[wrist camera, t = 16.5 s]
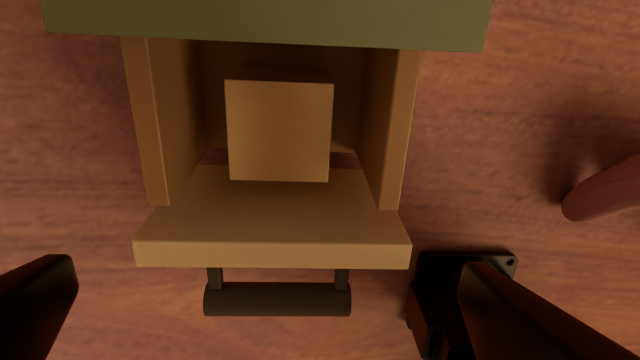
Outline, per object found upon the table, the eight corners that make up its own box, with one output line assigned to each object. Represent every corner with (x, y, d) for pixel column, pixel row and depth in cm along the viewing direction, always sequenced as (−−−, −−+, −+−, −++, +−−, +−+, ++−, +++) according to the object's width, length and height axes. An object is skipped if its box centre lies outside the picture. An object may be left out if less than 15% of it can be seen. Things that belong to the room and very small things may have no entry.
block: (327, 67, 17) (334, 83, 13) (323, 149, 19) (328, 182, 15) (240, 64, 17) (223, 79, 13) (243, 146, 19) (229, 180, 15)
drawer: (366, 257, 23) (392, 357, 16) (197, 255, 22) (153, 358, 16) (407, -74, 16) (483, -134, 9) (158, -91, 15) (48, -168, 9)
